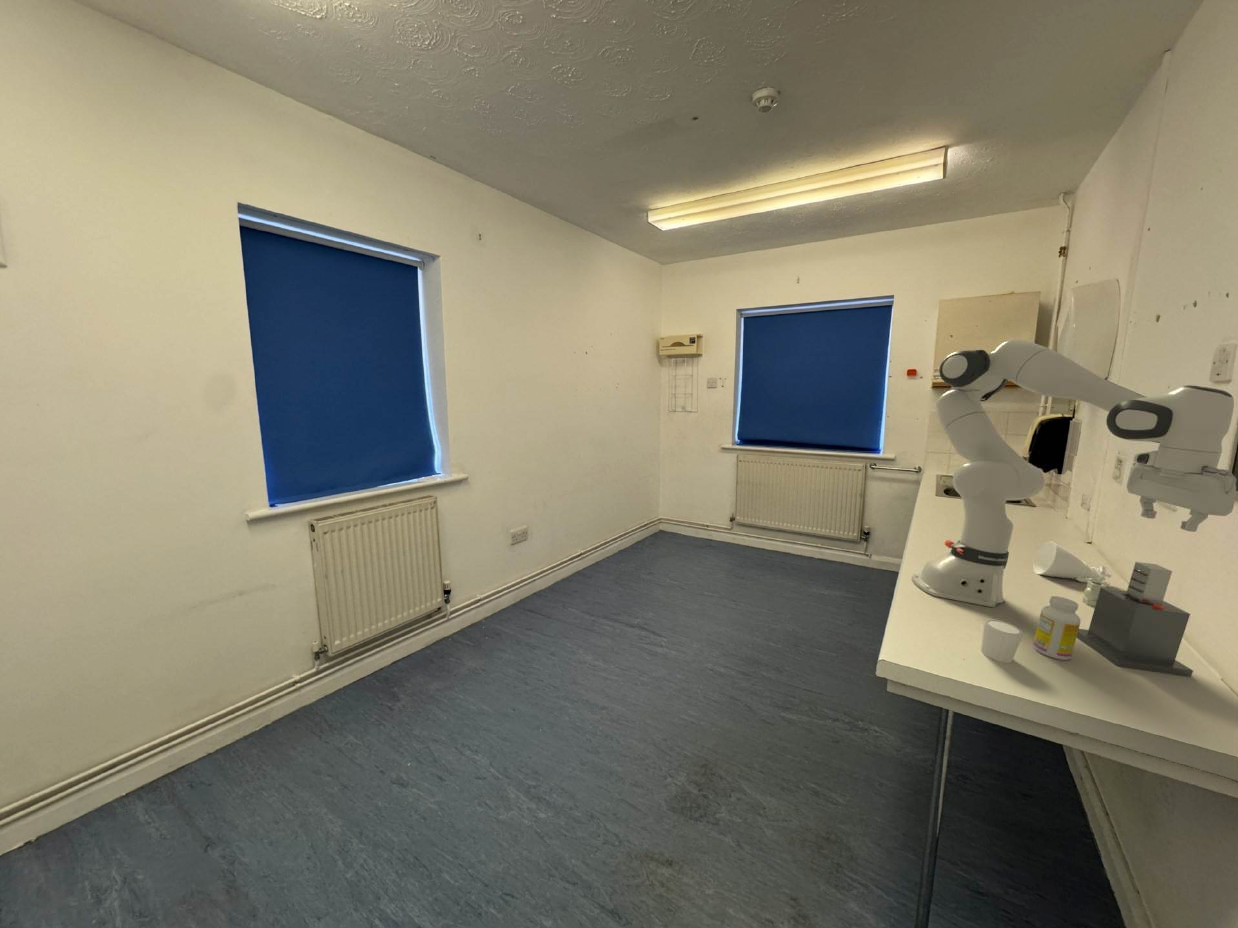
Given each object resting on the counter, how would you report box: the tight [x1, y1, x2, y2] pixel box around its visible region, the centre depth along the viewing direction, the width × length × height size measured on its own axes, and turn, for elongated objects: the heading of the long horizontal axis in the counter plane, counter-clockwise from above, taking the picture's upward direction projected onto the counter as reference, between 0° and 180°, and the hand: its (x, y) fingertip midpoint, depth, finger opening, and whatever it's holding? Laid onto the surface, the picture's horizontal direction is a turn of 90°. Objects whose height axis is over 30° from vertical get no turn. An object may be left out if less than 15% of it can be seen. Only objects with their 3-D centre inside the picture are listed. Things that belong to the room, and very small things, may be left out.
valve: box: [1082, 581, 1108, 608], centre depth 135 cm, size 7×7×12 cm
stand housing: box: [1076, 587, 1194, 678], centre depth 111 cm, size 14×14×14 cm
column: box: [1126, 561, 1173, 605], centre depth 110 cm, size 4×4×20 cm
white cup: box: [980, 618, 1024, 664], centre depth 107 cm, size 7×7×7 cm
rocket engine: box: [1032, 541, 1112, 588], centre depth 156 cm, size 12×12×18 cm
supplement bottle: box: [1032, 595, 1081, 661], centre depth 109 cm, size 7×7×13 cm
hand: (1166, 523), depth 106 cm, fingers open, 8 cm apart
